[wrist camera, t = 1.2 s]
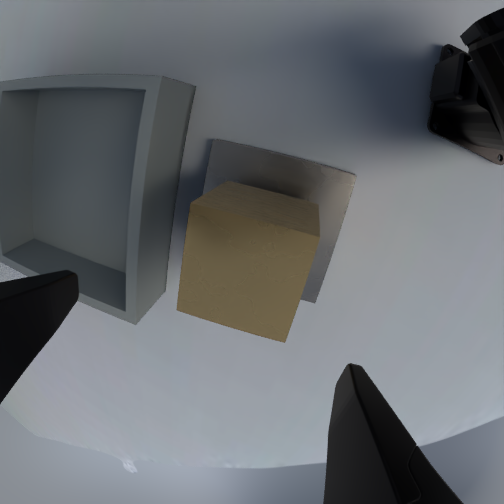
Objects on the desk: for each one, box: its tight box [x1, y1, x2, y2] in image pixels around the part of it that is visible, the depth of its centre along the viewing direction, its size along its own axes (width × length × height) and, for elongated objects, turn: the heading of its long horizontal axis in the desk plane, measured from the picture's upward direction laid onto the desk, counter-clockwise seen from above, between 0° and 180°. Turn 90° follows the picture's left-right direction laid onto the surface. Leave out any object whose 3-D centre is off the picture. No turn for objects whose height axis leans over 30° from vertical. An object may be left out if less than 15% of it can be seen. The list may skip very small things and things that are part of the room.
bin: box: [0, 74, 196, 325], centre depth 20 cm, size 16×16×5 cm
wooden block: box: [177, 181, 320, 343], centre depth 16 cm, size 5×5×6 cm
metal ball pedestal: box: [203, 139, 356, 303], centre depth 17 cm, size 9×9×8 cm
